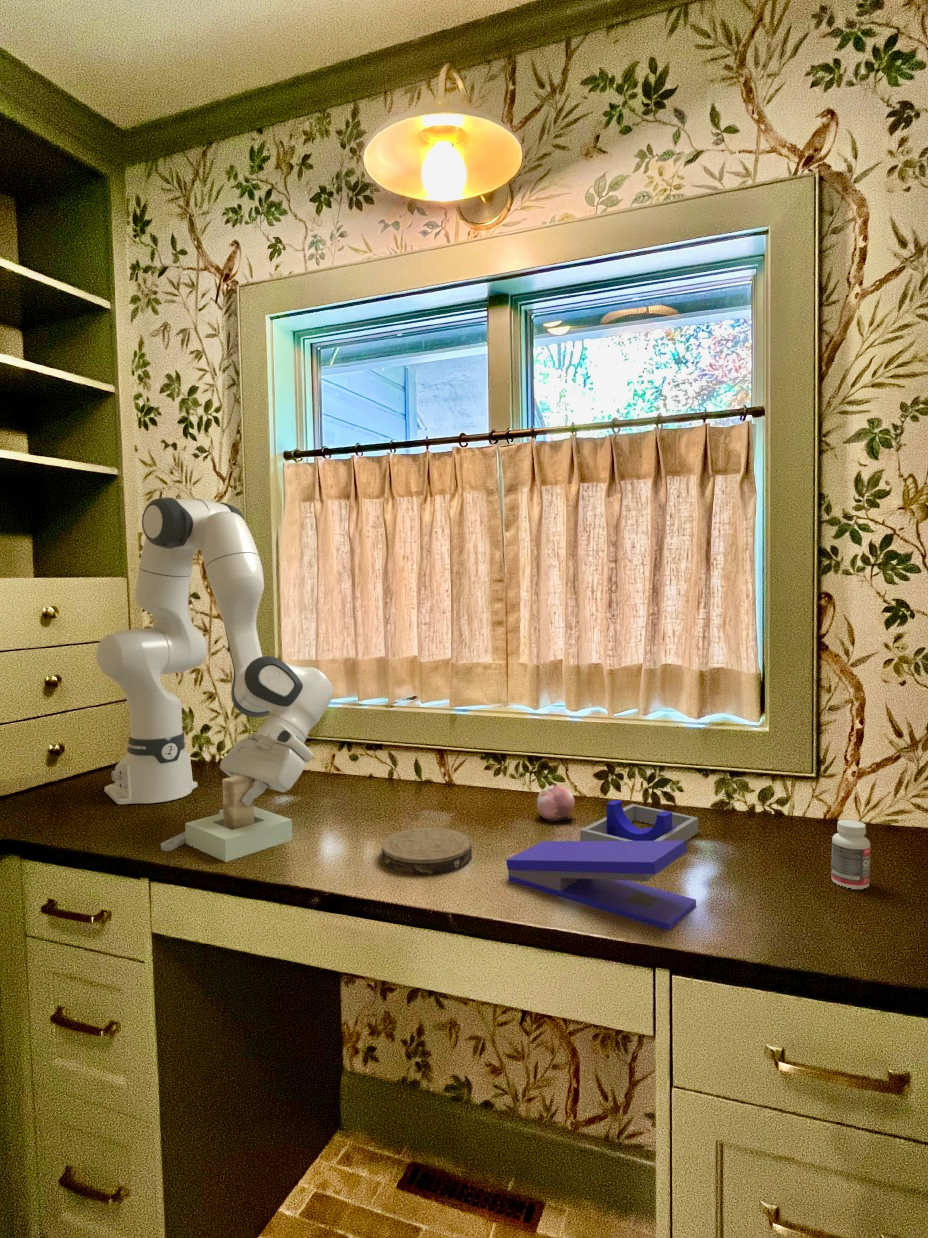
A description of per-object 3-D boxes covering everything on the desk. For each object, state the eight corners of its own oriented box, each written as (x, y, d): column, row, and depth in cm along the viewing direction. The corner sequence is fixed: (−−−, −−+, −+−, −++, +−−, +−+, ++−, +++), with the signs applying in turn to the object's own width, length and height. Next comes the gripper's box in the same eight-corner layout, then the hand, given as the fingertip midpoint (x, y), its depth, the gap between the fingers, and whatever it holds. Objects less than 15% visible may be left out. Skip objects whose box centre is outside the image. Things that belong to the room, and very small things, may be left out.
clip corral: (580, 845, 133) (580, 829, 132) (632, 818, 148) (632, 803, 147) (650, 864, 123) (650, 847, 123) (698, 833, 138) (698, 817, 138)
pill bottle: (872, 893, 111) (873, 830, 111) (833, 888, 113) (834, 826, 113) (866, 879, 116) (867, 820, 116) (829, 874, 118) (830, 816, 118)
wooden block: (224, 831, 136) (222, 779, 136) (242, 826, 139) (241, 774, 139) (235, 836, 133) (233, 782, 133) (254, 830, 136) (252, 778, 136)
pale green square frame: (185, 844, 136) (185, 823, 136) (250, 824, 146) (250, 805, 146) (225, 862, 127) (225, 839, 126) (292, 840, 137) (291, 819, 137)
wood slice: (363, 861, 127) (363, 845, 127) (426, 837, 139) (425, 822, 139) (428, 886, 116) (427, 867, 116) (490, 857, 128) (490, 840, 128)
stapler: (666, 935, 100) (667, 865, 99) (503, 883, 117) (502, 824, 117) (698, 905, 108) (698, 841, 108) (541, 862, 126) (541, 806, 126)
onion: (532, 824, 147) (526, 789, 149) (557, 820, 152) (551, 785, 154) (560, 821, 142) (554, 784, 143) (586, 816, 147) (579, 780, 149)
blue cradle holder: (675, 842, 133) (676, 810, 133) (664, 849, 130) (664, 816, 129) (618, 828, 141) (618, 798, 141) (606, 834, 138) (606, 803, 138)
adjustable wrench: (169, 855, 132) (168, 845, 132) (143, 850, 134) (143, 841, 134) (259, 813, 155) (259, 805, 155) (236, 810, 157) (235, 802, 157)
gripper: (238, 725, 147) (195, 782, 141) (299, 737, 134) (254, 802, 127) (258, 742, 151) (217, 799, 144) (319, 757, 138) (277, 820, 131)
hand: (235, 801), depth 136 cm, fingers closed on wooden block, 4 cm apart
